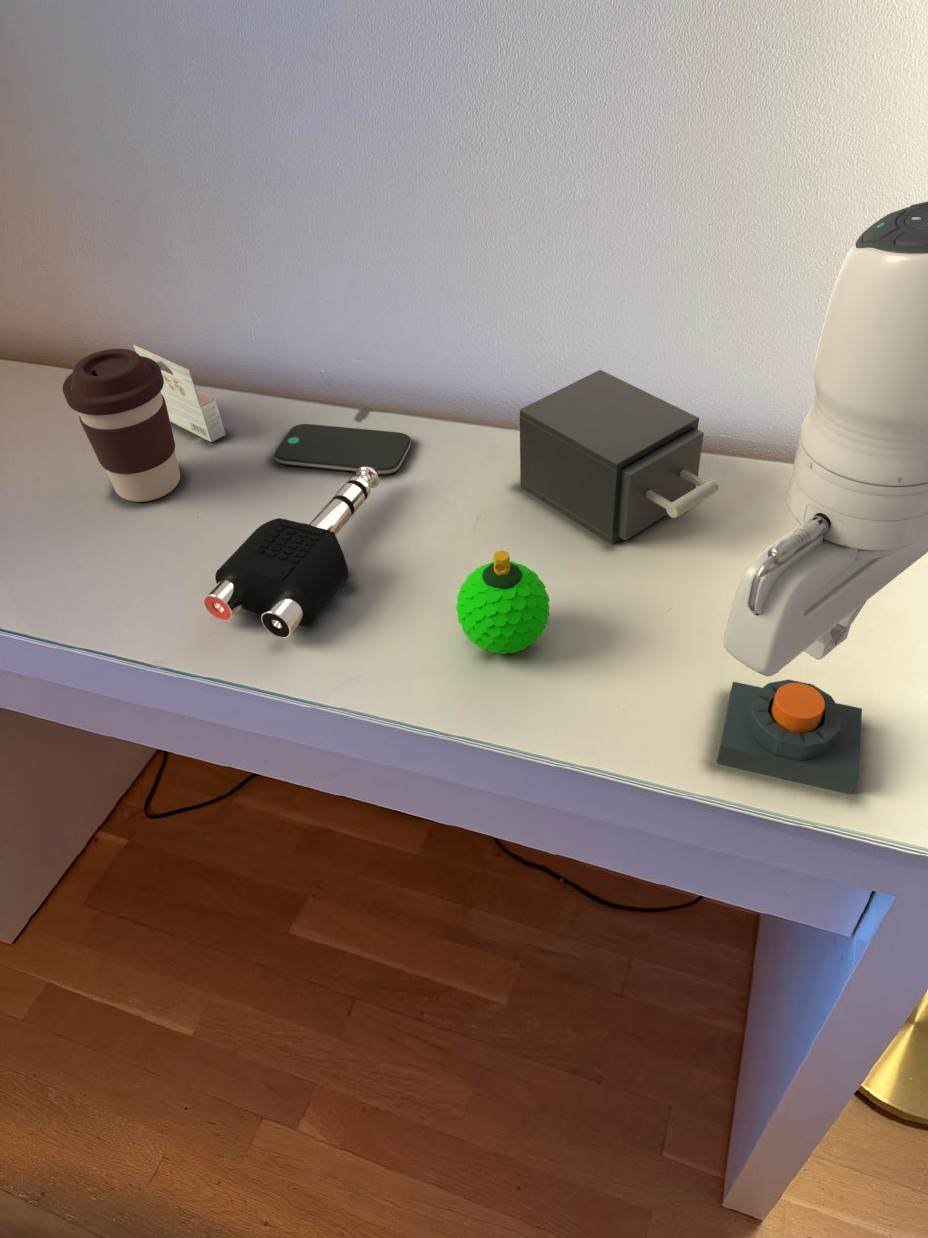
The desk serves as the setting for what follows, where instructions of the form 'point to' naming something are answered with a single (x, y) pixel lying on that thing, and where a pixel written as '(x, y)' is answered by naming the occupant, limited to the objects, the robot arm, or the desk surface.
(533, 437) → the small drawer cabinet
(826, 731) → the control block
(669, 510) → the drawer
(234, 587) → the audio adapter
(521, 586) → the ornament
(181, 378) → the ink box
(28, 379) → the desk surface
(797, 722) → the button
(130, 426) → the coffee cup
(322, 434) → the smartphone
